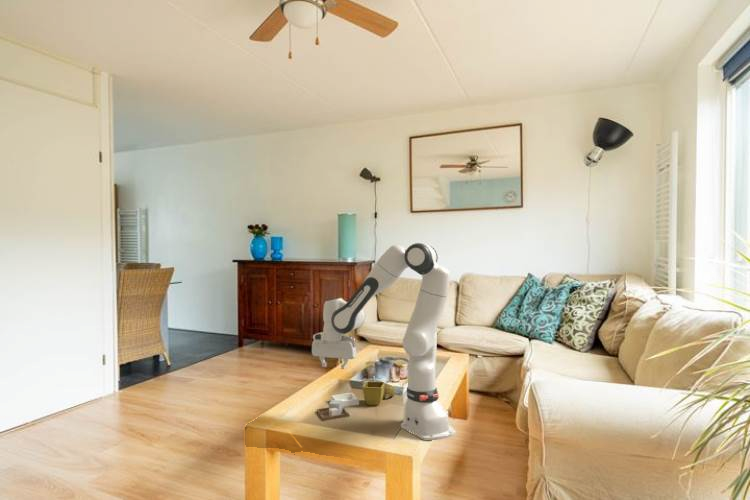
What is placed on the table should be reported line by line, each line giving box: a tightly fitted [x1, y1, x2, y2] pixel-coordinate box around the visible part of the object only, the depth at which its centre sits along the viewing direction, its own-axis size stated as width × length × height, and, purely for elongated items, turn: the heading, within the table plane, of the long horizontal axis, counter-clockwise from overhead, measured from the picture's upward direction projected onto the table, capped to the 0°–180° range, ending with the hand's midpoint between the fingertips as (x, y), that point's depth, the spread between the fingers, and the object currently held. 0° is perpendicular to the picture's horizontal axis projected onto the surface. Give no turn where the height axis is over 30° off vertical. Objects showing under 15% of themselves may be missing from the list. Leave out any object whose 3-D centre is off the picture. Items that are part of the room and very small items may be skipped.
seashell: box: [382, 384, 396, 400], centre depth 192 cm, size 10×7×8 cm
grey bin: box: [331, 392, 360, 408], centre depth 184 cm, size 10×10×3 cm
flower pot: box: [362, 380, 386, 406], centre depth 183 cm, size 9×9×9 cm
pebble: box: [328, 399, 342, 414], centre depth 172 cm, size 4×4×4 cm
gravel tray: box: [316, 406, 350, 422], centre depth 170 cm, size 11×11×2 cm
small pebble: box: [329, 408, 339, 417], centre depth 167 cm, size 3×3×3 cm
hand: (333, 367), depth 172 cm, fingers open, 8 cm apart
